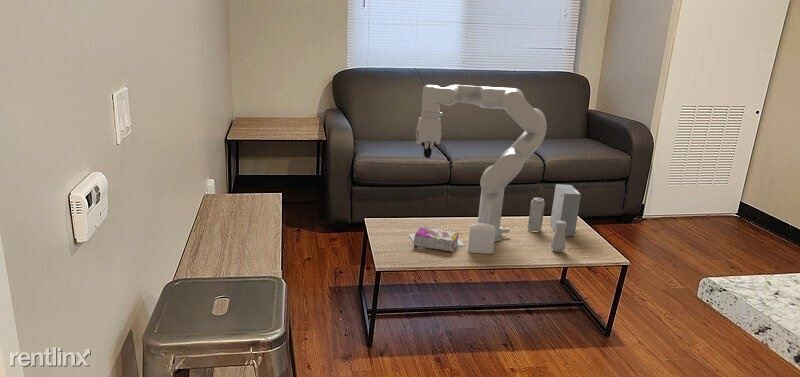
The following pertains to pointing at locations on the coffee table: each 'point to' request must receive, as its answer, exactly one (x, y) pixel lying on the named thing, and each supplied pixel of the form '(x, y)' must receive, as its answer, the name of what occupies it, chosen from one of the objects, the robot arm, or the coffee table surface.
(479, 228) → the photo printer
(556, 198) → the hard drive box
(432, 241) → the candy bar box
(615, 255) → the coffee table surface
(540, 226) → the energy drink can
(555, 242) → the salt shaker
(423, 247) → the mat
